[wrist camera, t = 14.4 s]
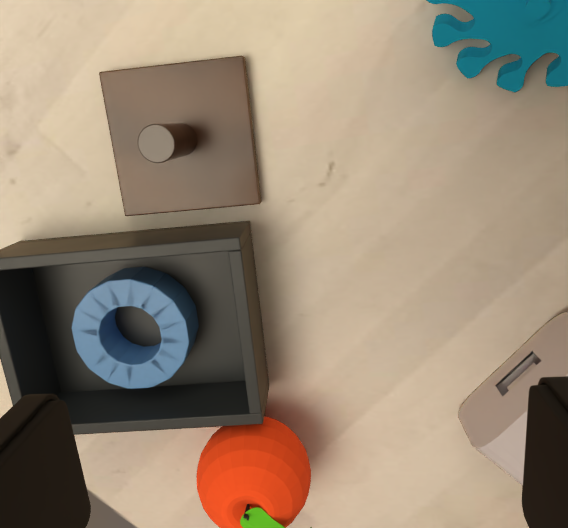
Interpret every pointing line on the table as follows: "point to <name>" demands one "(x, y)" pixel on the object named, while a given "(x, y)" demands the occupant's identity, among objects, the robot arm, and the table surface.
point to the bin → (138, 327)
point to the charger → (514, 397)
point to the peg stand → (182, 136)
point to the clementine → (253, 476)
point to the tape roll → (118, 350)
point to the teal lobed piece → (508, 37)
